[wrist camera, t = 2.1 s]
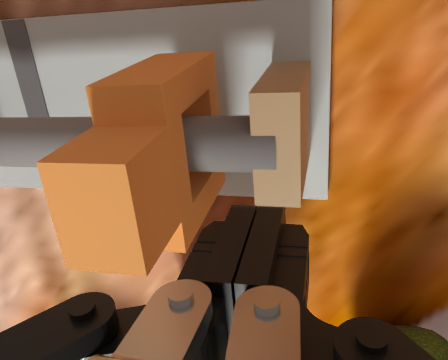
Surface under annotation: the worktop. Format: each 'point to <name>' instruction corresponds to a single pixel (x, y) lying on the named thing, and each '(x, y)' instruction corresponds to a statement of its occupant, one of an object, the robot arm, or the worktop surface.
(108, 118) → the collar
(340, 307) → the worktop surface
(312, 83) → the pipe stand
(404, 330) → the avocado
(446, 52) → the worktop surface
